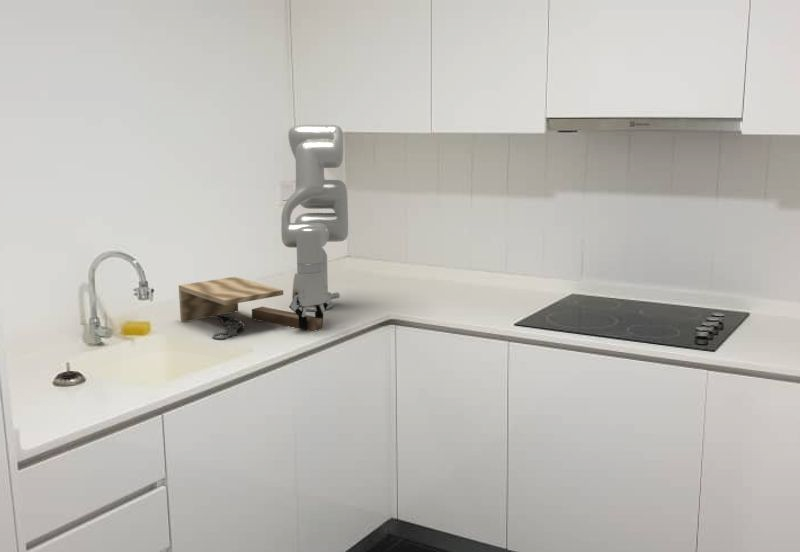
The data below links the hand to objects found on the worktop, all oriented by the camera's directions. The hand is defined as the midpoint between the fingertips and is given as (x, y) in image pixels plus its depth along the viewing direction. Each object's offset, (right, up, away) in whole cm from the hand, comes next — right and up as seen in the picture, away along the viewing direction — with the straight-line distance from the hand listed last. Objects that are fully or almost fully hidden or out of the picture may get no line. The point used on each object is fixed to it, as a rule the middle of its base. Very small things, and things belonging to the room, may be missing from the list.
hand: (311, 326), depth 250 cm
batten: (-7, +2, +8) cm, 11 cm away
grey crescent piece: (-26, -1, +2) cm, 26 cm away
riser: (-25, 0, +6) cm, 26 cm away
